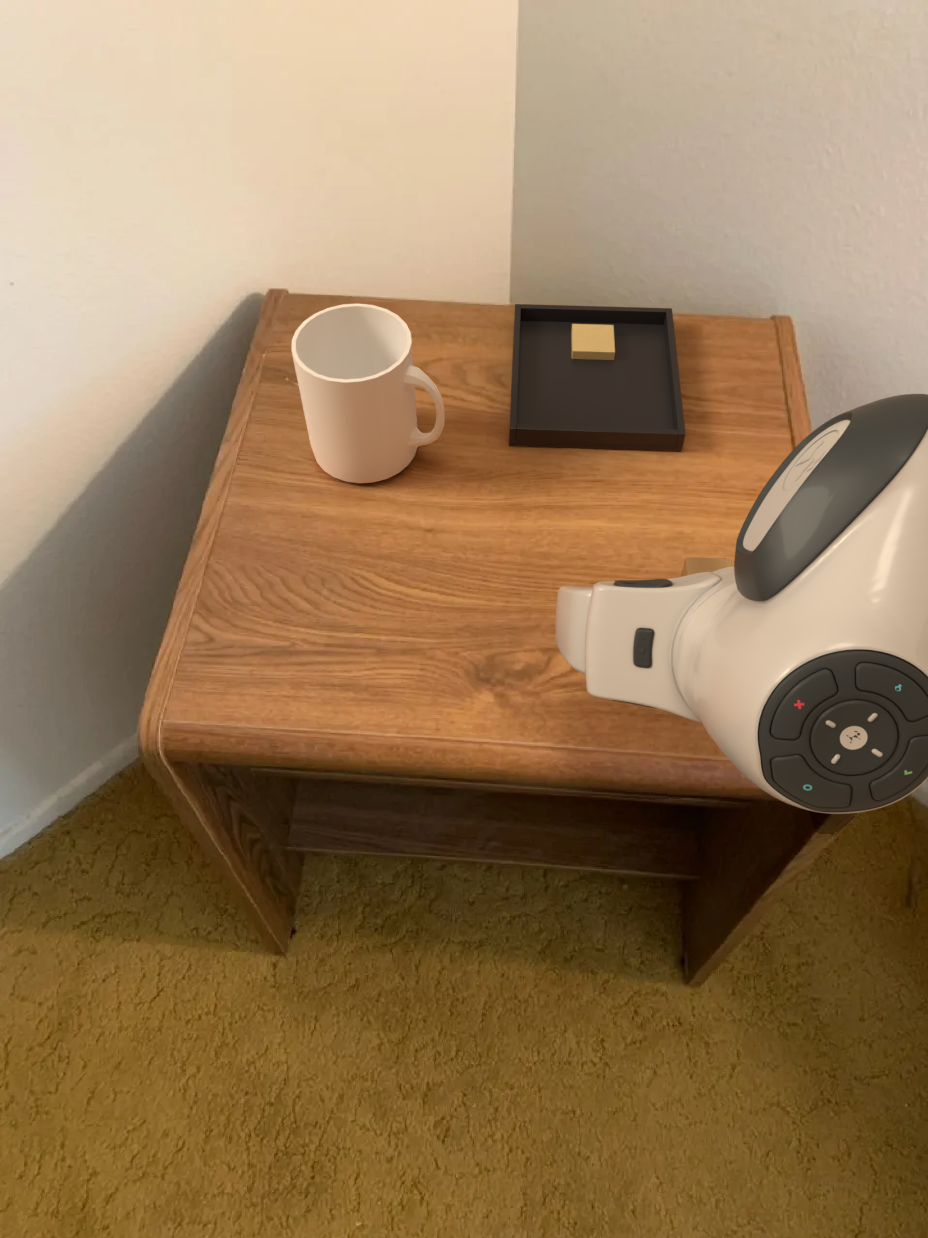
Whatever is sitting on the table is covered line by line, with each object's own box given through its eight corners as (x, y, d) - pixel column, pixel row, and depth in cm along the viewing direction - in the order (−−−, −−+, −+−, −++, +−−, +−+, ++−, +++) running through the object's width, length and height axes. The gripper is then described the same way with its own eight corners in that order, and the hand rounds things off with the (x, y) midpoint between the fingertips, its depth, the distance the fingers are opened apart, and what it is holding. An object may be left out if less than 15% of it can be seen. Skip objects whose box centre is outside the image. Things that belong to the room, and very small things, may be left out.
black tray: (668, 325, 91) (672, 307, 89) (681, 451, 81) (685, 434, 80) (514, 321, 92) (514, 303, 90) (508, 445, 82) (509, 428, 80)
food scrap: (612, 333, 90) (613, 324, 89) (613, 360, 87) (615, 352, 87) (571, 331, 90) (572, 323, 89) (571, 359, 88) (572, 350, 87)
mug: (320, 409, 85) (300, 302, 75) (450, 413, 84) (447, 305, 75) (305, 486, 80) (282, 380, 70) (444, 490, 79) (440, 384, 70)
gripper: (948, 600, 50) (853, 567, 63) (566, 583, 50) (554, 554, 64) (933, 713, 51) (843, 657, 64) (560, 695, 52) (549, 643, 65)
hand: (696, 606), depth 64 cm, fingers closed on scrub brush, 3 cm apart
